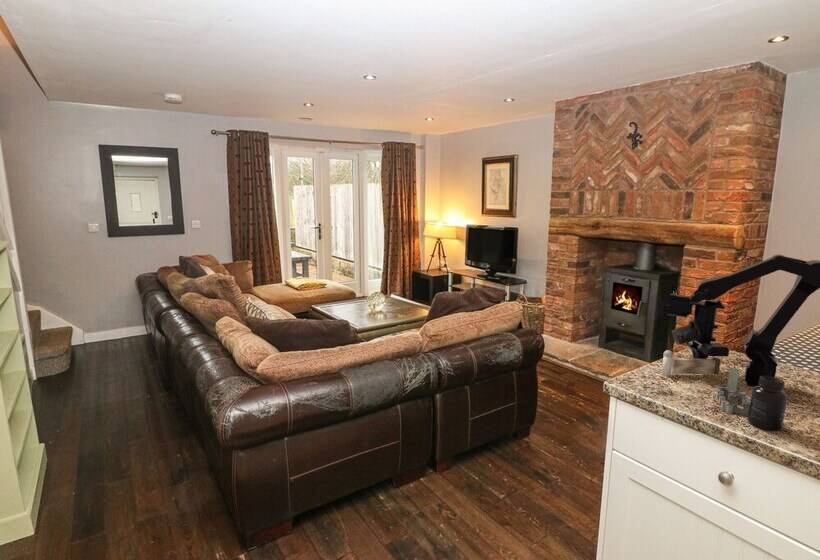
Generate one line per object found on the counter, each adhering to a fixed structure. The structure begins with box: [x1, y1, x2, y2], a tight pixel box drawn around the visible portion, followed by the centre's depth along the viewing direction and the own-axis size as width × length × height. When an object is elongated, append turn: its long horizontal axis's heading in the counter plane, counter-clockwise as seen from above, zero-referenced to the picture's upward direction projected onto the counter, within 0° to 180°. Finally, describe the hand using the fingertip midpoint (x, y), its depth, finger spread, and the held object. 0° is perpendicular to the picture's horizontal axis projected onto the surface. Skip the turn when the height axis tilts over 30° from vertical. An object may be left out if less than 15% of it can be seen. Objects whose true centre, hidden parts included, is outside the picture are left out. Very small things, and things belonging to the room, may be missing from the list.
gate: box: [670, 356, 722, 376], centre depth 143 cm, size 14×2×5 cm, turn 89°
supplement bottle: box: [747, 376, 788, 432], centre depth 112 cm, size 7×7×12 cm
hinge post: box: [661, 349, 674, 377], centre depth 143 cm, size 3×3×8 cm
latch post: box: [727, 367, 740, 390], centre depth 134 cm, size 2×4×5 cm, turn 147°
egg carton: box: [715, 384, 751, 417], centre depth 123 cm, size 11×8×4 cm
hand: (697, 367), depth 146 cm, fingers closed
